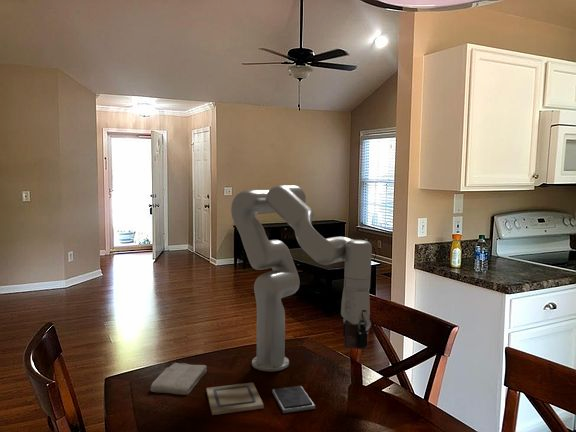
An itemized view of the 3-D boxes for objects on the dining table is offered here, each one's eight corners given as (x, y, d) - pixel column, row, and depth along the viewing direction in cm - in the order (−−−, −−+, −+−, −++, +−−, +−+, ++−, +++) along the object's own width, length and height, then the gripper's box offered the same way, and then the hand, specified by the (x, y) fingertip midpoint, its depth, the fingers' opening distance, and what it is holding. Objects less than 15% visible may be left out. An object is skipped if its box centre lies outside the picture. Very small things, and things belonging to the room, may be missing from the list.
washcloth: (208, 371, 148) (208, 362, 147) (188, 397, 130) (188, 387, 130) (173, 368, 149) (173, 359, 149) (149, 394, 131) (149, 384, 131)
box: (365, 350, 129) (366, 325, 128) (343, 348, 130) (345, 323, 129) (365, 342, 135) (366, 318, 134) (344, 340, 136) (345, 317, 135)
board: (206, 391, 133) (206, 387, 133) (253, 385, 137) (253, 381, 137) (212, 415, 119) (212, 410, 119) (263, 408, 123) (263, 404, 123)
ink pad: (272, 392, 132) (272, 388, 132) (301, 389, 135) (301, 384, 135) (283, 413, 121) (283, 408, 121) (314, 408, 123) (315, 403, 123)
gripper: (333, 276, 138) (331, 332, 139) (359, 291, 121) (356, 354, 123) (355, 275, 140) (353, 330, 142) (383, 289, 123) (380, 351, 125)
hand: (354, 341), depth 132 cm, fingers closed on box, 8 cm apart
